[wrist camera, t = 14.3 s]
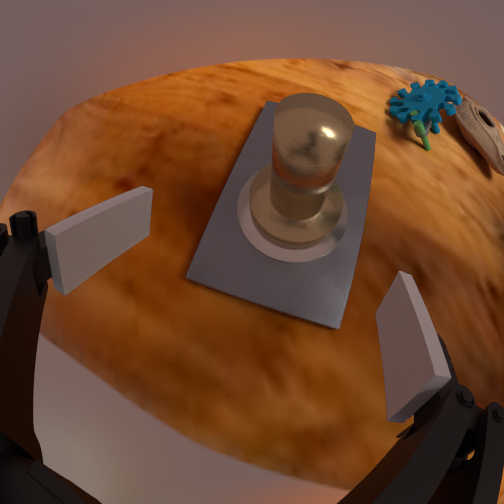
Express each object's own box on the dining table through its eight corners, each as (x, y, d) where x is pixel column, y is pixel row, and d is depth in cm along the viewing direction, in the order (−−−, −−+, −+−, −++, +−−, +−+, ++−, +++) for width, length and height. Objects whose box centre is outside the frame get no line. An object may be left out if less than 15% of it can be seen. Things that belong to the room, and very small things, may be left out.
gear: (397, 78, 27) (460, 73, 19) (413, 111, 30) (473, 112, 22) (373, 122, 26) (452, 121, 18) (392, 159, 29) (464, 166, 21)
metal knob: (343, 186, 22) (383, 101, 12) (325, 262, 20) (376, 196, 10) (265, 163, 23) (267, 68, 13) (237, 233, 21) (220, 149, 11)
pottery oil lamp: (482, 185, 23) (490, 138, 18) (441, 135, 31) (439, 94, 26) (522, 176, 21) (532, 134, 15) (480, 129, 28) (481, 92, 23)
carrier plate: (372, 139, 25) (379, 125, 23) (334, 329, 20) (343, 328, 17) (267, 108, 27) (267, 92, 25) (189, 280, 21) (181, 273, 19)
